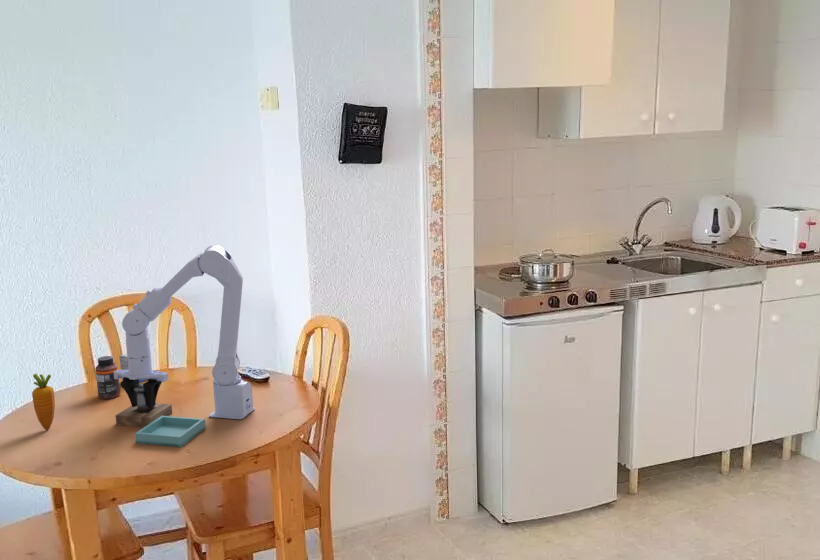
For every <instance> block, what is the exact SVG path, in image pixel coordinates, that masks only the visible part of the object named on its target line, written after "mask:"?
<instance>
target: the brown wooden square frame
mask: <svg viewBox="0 0 820 560" xmlns="http://www.w3.org/2000/svg"><path fill="white" fill-rule="evenodd" d="M150 409H151V411H150V412H148V413H138V411H137V406H135V407H132V405H130V406H129V407H127V408H125V409H123V410H122V411H120V412H119V413H117V414H115V424H116V425H117V426H118V425H119V426H130V427H141V428H144V427H145V426H147V425H149V424H150V423H152V422H153V421H155V420H156V419H158V418H159V417H161V416H172V414H173V406H172V404H171V403H160V402H159V403H158V402H155V406H154V407H152V408H150Z"/></svg>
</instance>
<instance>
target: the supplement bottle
mask: <svg viewBox="0 0 820 560" xmlns="http://www.w3.org/2000/svg"><path fill="white" fill-rule="evenodd" d="M116 370H119V366H118V365H117V363H115V362H114V357H113V356H112V355H105V356H100V357H98V358H97V365H96V366H95V370H94V372H95V381H96V390H97V394H98V398H99V399H100V400H101V399H102V400H111V399H115V398H117V397H119V396H120V395H121V383H120V378H119V379H114V371H116Z"/></svg>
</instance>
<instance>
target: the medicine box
mask: <svg viewBox="0 0 820 560" xmlns="http://www.w3.org/2000/svg"><path fill="white" fill-rule="evenodd" d="M119 365H120V367H119V368H120V370H129V369H128V358H127V353H124V354H121V355H119ZM122 381H123V379H122V378H121V382H122ZM144 382H147V380H139V384H140V383H144Z"/></svg>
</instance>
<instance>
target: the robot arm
mask: <svg viewBox="0 0 820 560" xmlns="http://www.w3.org/2000/svg"><path fill="white" fill-rule="evenodd" d="M204 274H207V275H208V276H209V277H212V278H214V279H216V281H218V282H219V283H220V284H221V285H222V286H223V294H222V295H223V296H222V306H221V307H222V308H221V316H220V317H221V318H220V331H219V339H218V340H219V343H218V351H217V357H216V359H215V363H214V366H213V367H212V371H211V375H212V377H213V379H212V384H213V387H212V388H213V399H214V401H213V403H214V411H213V412H211V413H209V415H208V417H209V418H220V419H232V420H233V419H234V420H242V419H245V418H246V417H247V416H248V415H250V413H252V412H253V411H254V410H255V407H254V399H253V398H254V397H253V387H252V384H251V383H250V382H249V381H245V380H243V379H242V376H241V375H240V374H239V368H240V365H241V361H240V358H239V356H238V338H239V327H240V316H241V306H242V296H243V286H244V285H243V282H244V280H243V279H244V277H243V274H242V273H241V271H240V270H239V268H238V266H237V264H236V263H235V260H234V258H233V256H232V254H231V253H230V252H229V251H228V250H226V249H225V247H223V246H221V245H218V244H213V245H210V246H208V247H206V249H204V251H203V252H200V253H199V254H197V255H196V256H195V257H193V258H191V259H190V260H189V261H188V262H187V263H186V264H184V266H182V268H181V269H179V271H178V272H177V273H175V275H174V276H172V277H171V279H170V280H169V281H168V282H166V283H165V285H164V286H163V287H154V288H153V289H148V290H147V291H146V293H145V296H144V297H143V298H142V299H141V300H140V301H139V302H138V303H134V304H133V305H132V308H133V309H130V310H129V311H128V312H127V313H126V314H125V316H123V318H122V321H121V325H122V329H123V330H124V331H125V346H126V354H127V358H128V369H129V370H121V369H118V370H116V371H114V379H119V380H120V379H121V382H120V387H121V388H122V389H123V390H124V392H125V393H126V395H127V396H128V399H129V401H130V404H131V405H130V406H132V407H135V406H137V400H136V392H134V391H133V386H134V385H136V384H140V383H139V380H146V381H145V382H143V383H144V384H143V386H144V388H145V391H146V395H147V403H148V408H152V407H154V406H155V403H157V402H156V401H157V396H158V392H159V390H160V387H161V385H162V383H166V382H167V381H168V380H169V373H168V372H164V371H159V370H155V369H153V364H152V355H151V354H152V353H151V342H150V341H151V340H150V335H149V327H148V326H149V325H150V323H151V322H153V321H154V320H156V319H157V317H159V316H160V315H161V314H162V313H163V312H164V311H165V310H167V309H168V307H170V306H171V304H172V296H173V295H175V293H177V292H178V291H179V290H180V289H181V288H183V287H184V286H185V285H186V284H187V283H188V282H189V281H190V280H191V279H193V278H196V277H203V276H204ZM122 379H123V381H122Z"/></svg>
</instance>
